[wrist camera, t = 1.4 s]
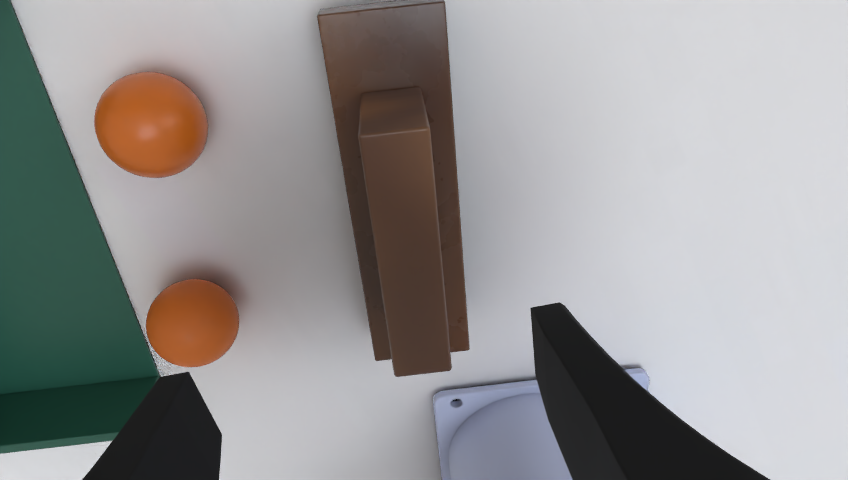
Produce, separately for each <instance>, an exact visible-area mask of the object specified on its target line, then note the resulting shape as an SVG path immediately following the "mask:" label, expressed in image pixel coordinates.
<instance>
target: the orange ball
mask: <svg viewBox="0 0 848 480" xmlns="http://www.w3.org/2000/svg"><path fill="white" fill-rule="evenodd" d="M238 328H239V314H238V310H237V307H236V304H235V302H234V301H233V299H232V297H231V296H230V295H229V294H228V293H227V292H226V291H225V290H224V289H223V288H221V287H220V286H218V285H217V284H215V283H212V282H210V281H206V280H200V279H189V280H183V281H180V282H177V283H175V284H172V285H171V286H169V287H167V288H166V289H164V290H163V291H162V292H161V293H160V294H159V295H158V296H157V297H156V298H155V300H154V301H153V303H152V304H151V307H150V309H149V311H148V315H147V320H146V330H147V335H148V339H149V341H150V344H151V345H152V347H153V348H154V350H155V351H156V352H157V354H158V355H160V356H161V357H162V358H163V359H165V360H166V361H168V362H170V363H172V364H175V365H178V366H182V367H199V366H203V365H207V364H209V363H212V362H214V361H215V360H217V359H219V358H220V357H221V356H223V355H224V354H225V353H226V352H227V351H228V350H229V348H230V347H231V346H232V344H233V342H234V340H235V338H236V336H237V333H238Z"/></svg>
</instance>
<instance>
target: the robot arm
mask: <svg viewBox="0 0 848 480" xmlns="http://www.w3.org/2000/svg"><path fill="white" fill-rule="evenodd" d="M531 320H532V333H533V347H534V360H535V374H536V379H537V380H530V381H521V382H513V383H504V384H496V385H487V386H478V387H470V388H461V389H453V390H444V391H440V392H438V393H436V394H435V396H434V397H433V405H434V414H435V423H436V432H437V441H438V449H439V458H440V467H441V476H442V480H770V479H768V478H766V477H765V476H763V475H762V474H760V473H758V472H757V471H755V470H754V469H752V468H750V467H749V466H747V465H746V464H744V463H743V462H741V461H739V460H738V459H736V458H735V457H733V456H731V455H730V454H728V453H727V452H725V451H724V450H723V449H721V448H720V447H718V446H717V445H715V444H714V443H713V442H711V441H710V440H708V439H707V438H705V437H704V436H703V435H701V434H700V433H699V432H697V431H696V430H695V429H693V428H692V427H691V426H689V425H688V424H687V423H685V422H684V421H683V420H681V419H680V418H679V417H678V416H676V415H675V414H674V413H673V412H671V411H670V410H669V409H668V408H666V407H665V406H664V405H663V404H662V403H660V402H659V401H658V400H657V399H656V398H655V397H654V396H652V395H651V394H650V393H649V391H648V388H649V376H648V374H647V372H646V371H645V370H644V369H641V368H633V369H625V370H624V369H623V368H622V367H621V366H620V365H619V364H618V363H617V362H616V361H615V360H613V359H612V358H611V357H610V356H609V355H608V354H607V353H606V352H605V351H604V349H603V348H602V347H601V346H600V345H599V344H598V343H597V342H596V341H595V340H594V339H593V338H592V337H591V336H590V335H589V334H588V332H587V331H586V330H585V329H584V328H583V327H582V326H581V325H580V323H579V322H578V321H577V320H576V319H575V318H574V316H573V315H572V314H571V313H570V312H569V310H568V309H567V308H566V307H565V306H564V305H563V304H561V303H554V304H549V305H543V306H538V307H533V308H531ZM454 399H460V400H459V401H452V400H454ZM221 442H222V434H221V432H220V430H219V428H218V426H217V424H216V423H215V421H214V419H213V417H212V415H211V413H210V411H209V409H208V407H207V406H206V404H205V402H204V400H203V398H202V396H201V394H200V392H199V390H198V389H197V387H196V385H195V383H194V381H193V379H192V377H191V375H190V373H189V372H185V373H179V374H174V375H169V376H163V377H160V378H159V379H158V380H157V382H156V383H155V384H154V385H153V387H152V388H151V389H150V391H149V392H148V394H147V395H146V396H145V398H144V399H143V400H142V402H141V403H140V404H139V406H138V407H137V409H136V410H135V411H134V413H133V414H132V415H131V417H130V418H129V420H128V421H127V422H126V424H125V425H124V426H123V428H122V429H121V430H120V432H119V433H118V434H117V436H116V437H115V438H114V440H113V441H112V442H111V444H110V445H109V446H108V448H107V449H106V450H105V452H104V453H103V454H102V456H101V457H100V458H99V460H98V461H97V462H96V464H95V465H94V466H93V467H92V469H91V470H90V471H89V472H88V473H87V475H86V476H85V477H84V478H83V480H219V471H220V459H221Z"/></svg>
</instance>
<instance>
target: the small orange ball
mask: <svg viewBox="0 0 848 480" xmlns="http://www.w3.org/2000/svg"><path fill="white" fill-rule="evenodd" d="M94 125H95V132H96V135H97V138H98V141H99V143H100V145H101V147H102V149H103V150H104V152H105V153H106V155H107V156H108V157H109V158H110V159H111V160H112V161H113V162H114V163H115V164H117V165H118V166H119V167H121V168H122V169H124V170H126V171H128V172H130V173H132V174H135V175H138V176H143V177H149V178H162V177H168V176H172V175H175V174H177V173H180V172H182V171H183V170H185V169H186V168H188V167H190V166H191V165H192V164H193V163H194V162H195V161H196V160H197V158H198V157H199V156H200V154H201V153H202V151H203V149H204V146H205V144H206V140H207V135H208V122H207V117H206V113H205V111H204V108H203V106H202V104H201V102H200V100H199V99H198V97H197V96H196V95H195V94H194V92H193V91H192V90H191V89H190V88H189V87H187V86H186V85H185V84H183V83H182V82H180V81H179V80H177V79H175V78H173V77H171V76H168V75H165V74H161V73H156V72H139V73H134V74H130V75H127V76H124V77H122V78H120V79H119V80H117V81H115V82H114V83H113V84H111V85H110V86H109V87H108V88H107V89H106V90H105V92H104V93H103V94H102V96H101V98H100V100H99V102H98V104H97V107H96V110H95V118H94Z"/></svg>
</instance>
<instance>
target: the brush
mask: <svg viewBox="0 0 848 480" xmlns="http://www.w3.org/2000/svg"><path fill="white" fill-rule="evenodd" d="M317 18H318V24H319V30H320V36H321V42H322V48H323V54H324V60H325V66H326V72H327V78H328V83H329V89H330V95H331V101H332V107H333V113H334V119H335V125H336V131H337V137H338V143H339V149H340V155H341V161H342V166H343V172H344V178H345V184H346V190H347V196H348V202H349V208H350V214H351V220H352V226H353V232H354V238H355V243H356V249H357V255H358V261H359V267H360V273H361V279H362V285H363V291H364V297H365V303H366V309H367V315H368V321H369V326H370V332H371V338H372V344H373V350H374V356H375V360H376V361H380V360H389V359H392V363H393V370H394V375H395V376H396V377H400V376H409V375H417V374H426V373H434V372H443V371H450V370H451V368H452V366H451V355H450V352H458V351H466V350H469V335H468V321H467V307H466V293H465V279H464V264H463V250H462V236H461V222H460V207H459V193H458V179H457V165H456V150H455V136H454V122H453V108H452V94H451V79H450V65H449V51H448V37H447V22H446V8H445V2H444V0H399V1H390V2H381V3H371V4H362V5H353V6H343V7H334V8H325V9H320V11H319V13H318V16H317Z"/></svg>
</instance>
